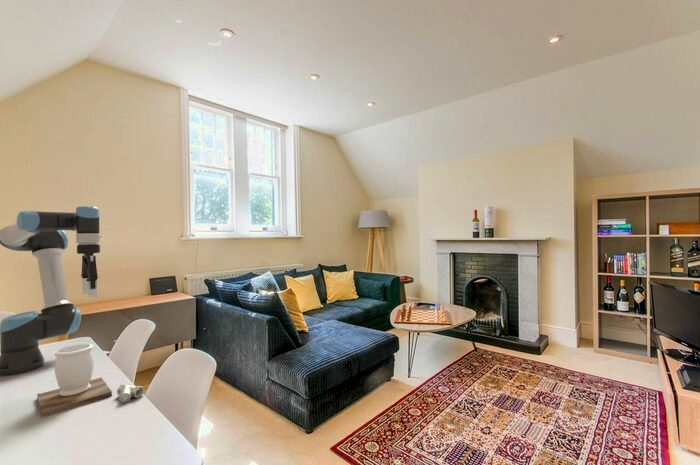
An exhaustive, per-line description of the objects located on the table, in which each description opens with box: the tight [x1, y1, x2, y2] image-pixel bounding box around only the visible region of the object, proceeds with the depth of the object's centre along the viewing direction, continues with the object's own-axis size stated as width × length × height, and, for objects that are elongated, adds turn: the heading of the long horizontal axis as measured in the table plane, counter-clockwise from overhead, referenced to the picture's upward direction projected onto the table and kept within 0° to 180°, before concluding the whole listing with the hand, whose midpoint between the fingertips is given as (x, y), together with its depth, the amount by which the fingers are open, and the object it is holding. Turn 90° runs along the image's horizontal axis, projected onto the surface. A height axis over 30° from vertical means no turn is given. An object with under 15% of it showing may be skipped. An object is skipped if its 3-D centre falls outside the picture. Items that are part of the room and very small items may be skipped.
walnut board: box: [36, 377, 113, 418], centre depth 115 cm, size 18×18×2 cm
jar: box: [54, 343, 95, 396], centre depth 117 cm, size 11×10×15 cm
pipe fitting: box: [116, 384, 145, 404], centre depth 114 cm, size 8×4×7 cm
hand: (89, 295), depth 137 cm, fingers open, 13 cm apart
